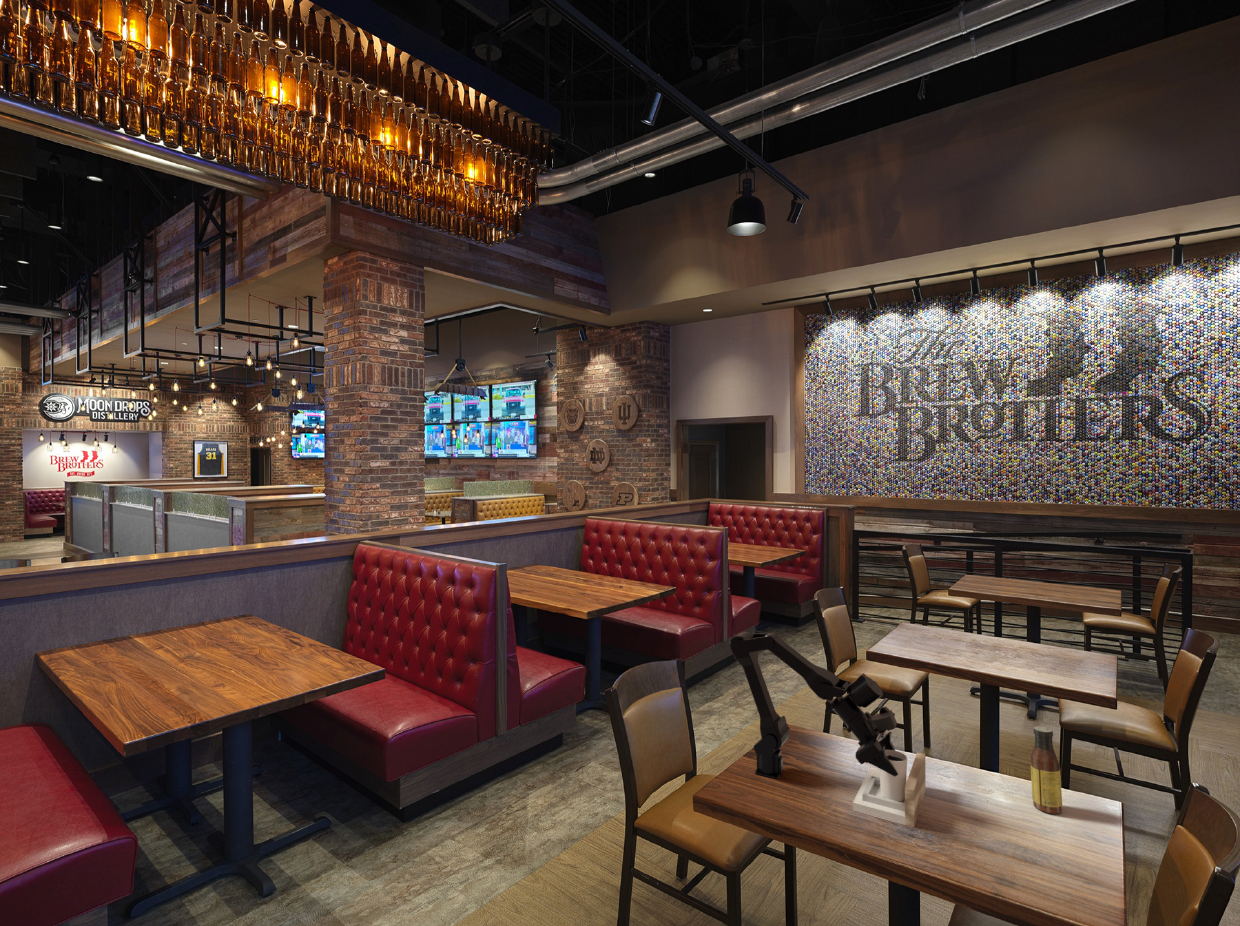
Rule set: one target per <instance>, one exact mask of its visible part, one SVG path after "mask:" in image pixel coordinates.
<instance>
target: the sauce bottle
mask: <svg viewBox="0 0 1240 926" xmlns="http://www.w3.org/2000/svg"><path fill="white" fill-rule="evenodd" d="M1033 734H1034V746H1033V748H1032V749H1031V751H1030V777H1031V779H1030V780H1031V797H1032V798H1031V799H1032V802H1033V806H1034V808H1036V810H1037V809H1038V810H1039V811H1041V812H1043V813H1047V814H1051V815H1057V814H1058V815H1059V814H1060V813H1062V811H1063V809H1062V805H1063V796H1062V795H1063V794H1062V793H1063V792H1062V780H1061V779H1062V778H1061V777H1062V776H1061V765H1060V762H1059V759H1058V757H1057V755H1056V752H1055V749H1054V745H1053V743H1054V742H1053V737H1054V732H1053V730H1052V728H1049V727H1047V726H1041V725H1036V726H1034V727H1033Z"/></svg>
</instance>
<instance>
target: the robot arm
mask: <svg viewBox="0 0 1240 926" xmlns="http://www.w3.org/2000/svg"><path fill="white" fill-rule="evenodd" d="M729 648H730V650H731V651H730V652H731V653H732V655H733V657H734V659H735V660H736V661H737V663H738V664H739V665H740V666H741V667H742V669H743V672H744V675H745V678H746V681H747V684H748V687H749V689H750V692H751V695H752V698H753V701H754V704H755V706H756V709H757V712H758V716H759V732H760V736H761V737H760V738H759V740H758V741H757V742H755V743H754V745H753V749H754V752H755V754H756V769H755V771H754V774H755V775H759V776H763V777H768V778H772V779H779V777H780V776H781V774H782V773H783V771H784V756H783V755H782V750H781V749H780V748H782V747H783V746H784V744H785V743H787V741H788V738H789V737H790V733H789V731H790V730H791V728H790V727H789V725H788V722H787V719H786V715H782V716H780V715H779V713H777V711H776V709H775V706H774V704H773V700H772V697H771V695H770V692H769V690H768V687H767V686H768V685H767V684H766V683H767V682H766V681H765V678H764V676H763V672H762V670H761V667H760V666H761V665H760V663H759V651H769V652H771V653H772V654H773V655H774V656H776V657H777V658H778V659H779V660H780V661H782V662H783V664H785V665H787V667H789V668H791V670H793V671H794V672H795V673H796V674H798V675H799V676H800V677H801V678H803V680H804V681H805V682H806V684H807V686H808V688H809V689H811V691H812V692H813V693H814V694H815V695H816V696H817V697H818V699H821V700H825V702H824V703H825V710H824V712H825V714H828V713H830V712H831V711H834V713H835V714H836V715H837V716H838V717H839V718H840V720H842V722H843V723H844V724H845V725H846V727H847V728H846V731H847V732H848V733H849V734H850V733H852V734H853V735H854V736H855V738H857V740H858V742H857V744H858V745H859V746H858V748H857V750H856V751H855V759H856V760H857V762H858V763H859V764H860V765H864V763H866V764H870V765H872V766H874V767H876V768H877V769H882V770H883V771H885V772H887V773H889V774H891V775H893V776H895V777H896V776H897V775H898V773H897V771H896V769H895V768H894V766H893V765H892V764H891V762H890V761H889V759H888V758H887V756H886V755H885V750H894V751H897V750H896V749H895V747H894V744H893V742H892V734H893V732H892V730H894V729H896V728H897V725H898V721H897V719H896V717H895V716H896V714H895V712H893V710H892V709H889V707H887V706H882V707H880V708H879V709H878V710H879V711H878V713H876V714H875V715H874V714H873V715H872V714H871V713H870V712H869V711H864V710H862V708H865V709H866V708H868V707H869V706H870V705H872V704H873V703H874V702H876V701H877V700H879V699H880V698H882V697H883V695H884V693H883V691H882V689H881V687H880V685H879V684H878V682H877V681H875V680H873V679H872V678H871V677H870V676H867V675H866V674H865V673H862V674H860V675H859V676H858V677H857V678H856V679H855V680H854V681H849V680H847V679H843V678H839V677H838V676H837V674H835V673H834V672H831V671H830V670H828V669H826V668H824V667H821V666H818V665H816V664H814V663H812V662H811V661H810V660H808V659H807V658H806V657H804V656H803V655H802V654H801V653H799V652H798V651H797V650H796V649H794V648H793V647H792V646H791V645H789V644H788V643H786V641H784V640H783V639H782V638H780V637H779V635H778V634H777V633H774V632H769V633H763V632H761V633H760V632H757V633H751V632H750V631H743V632H741V633H738V634H737V635H735V636H733V637H732V638H731V640H730V642H729ZM886 731H888V732H886Z"/></svg>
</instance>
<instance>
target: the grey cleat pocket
mask: <svg viewBox="0 0 1240 926" xmlns="http://www.w3.org/2000/svg"><path fill="white" fill-rule="evenodd" d="M908 777H909V775H906V782H907V780H908ZM852 811H854V812H856V813H861V814H864V815H866V816H867V815H868V816H871V817H875V818H879V819H883V820H886V821H889V822H893V823H896V824H899V825H904V826H906V825H905V799H904V800H902V801H894V800H890V799H887V798H885V797H883V796H882V795H881V788H880V768H877V767H876V768H875V767H870V768H869V769H868V771H867V773H866V776H865V777H864V779H863V781H862V783H861V785H860V788H859V789H858V792H857V793H856V796H855V798H854V800H853V801H852Z"/></svg>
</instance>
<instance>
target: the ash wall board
mask: <svg viewBox="0 0 1240 926" xmlns="http://www.w3.org/2000/svg"><path fill="white" fill-rule="evenodd" d="M910 768H911V769H910V770H909V771H910V772H909V774H908V776H909V777H908V780H907V782H906V785H905V825H904V826H907V827H911V828H915V826H916V822H917V819H918V816H919V812H920V808H921V805H922V802H923V798H924V795H925V791H926V788H927V787H926V784H927V783H926V782H927V781H926V753H921V752H916V754H915V757H914V760H913V763H912V765H911V767H910Z"/></svg>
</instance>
